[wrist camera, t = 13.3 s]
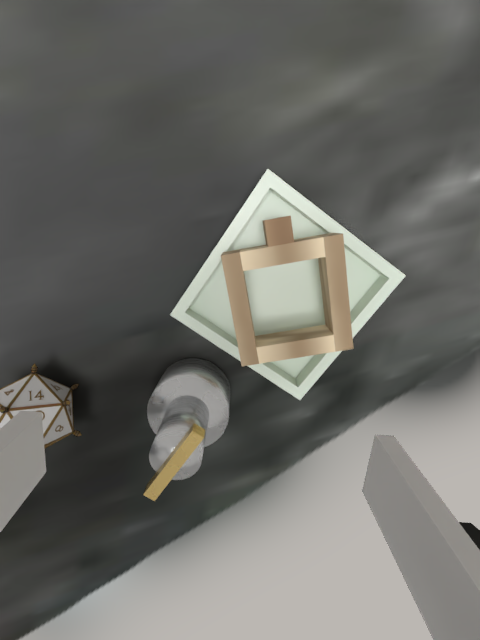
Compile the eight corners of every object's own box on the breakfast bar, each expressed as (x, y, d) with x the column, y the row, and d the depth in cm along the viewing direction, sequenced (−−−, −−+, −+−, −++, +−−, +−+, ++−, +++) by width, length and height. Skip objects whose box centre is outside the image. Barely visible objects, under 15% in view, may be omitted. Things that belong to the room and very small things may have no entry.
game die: (64, 363, 39) (14, 336, 30) (114, 414, 37) (78, 402, 28) (-4, 424, 36) (-82, 415, 27) (46, 481, 35) (-18, 493, 25)
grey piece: (145, 398, 36) (101, 477, 25) (183, 344, 34) (155, 402, 23) (204, 434, 37) (188, 524, 26) (244, 383, 35) (245, 457, 24)
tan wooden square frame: (242, 353, 32) (241, 366, 29) (218, 228, 29) (215, 229, 26) (343, 337, 31) (353, 348, 28) (330, 208, 28) (340, 206, 25)
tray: (175, 308, 33) (169, 314, 31) (265, 173, 30) (267, 168, 27) (296, 388, 35) (299, 400, 33) (393, 271, 32) (405, 275, 30)
